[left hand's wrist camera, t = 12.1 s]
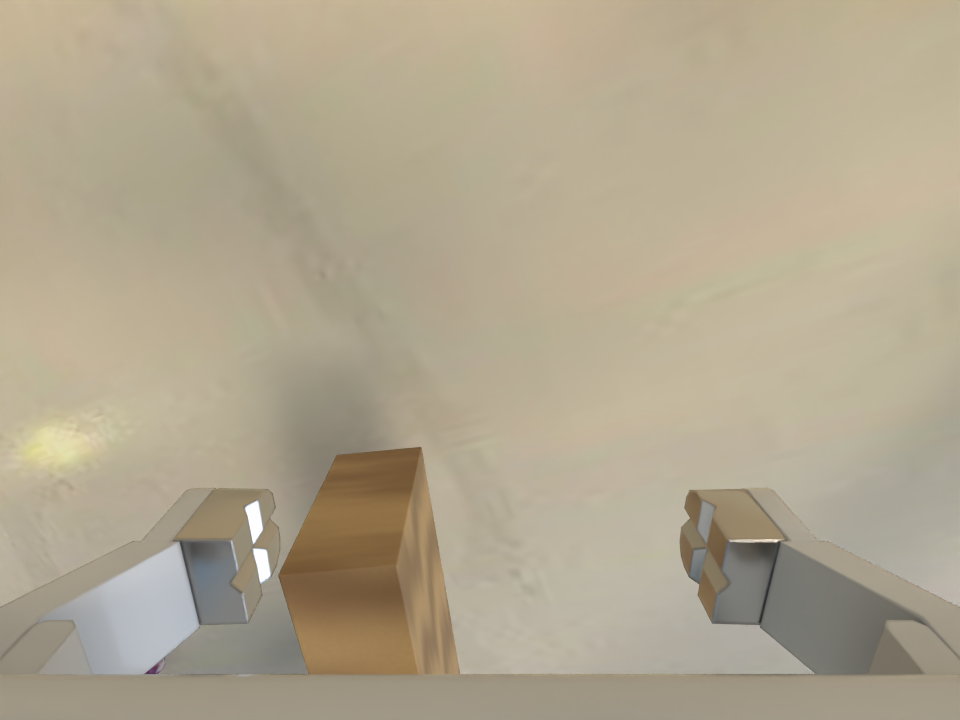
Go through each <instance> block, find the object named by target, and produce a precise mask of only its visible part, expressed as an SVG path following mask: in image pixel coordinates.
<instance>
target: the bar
mask: <svg viewBox="0 0 960 720" xmlns="http://www.w3.org/2000/svg"><path fill="white" fill-rule="evenodd" d="M279 579H280V582H281V586H282V589H283V592H284V595H285V599H286V602H287V605H288V609H289V612H290V615H291V618H292V622H293V625H294V628H295V631H296V635H297V638H298V641H299V644H300V648H301V651H302V654H303V657H304V661H305V664H306V667H307V671H308V674H460V670H459V664H458V659H457V653H456V647H455V641H454V635H453V629H452V623H451V618H450V612H449V606H448V600H447V594H446V588H445V582H444V577H443V571H442V565H441V559H440V553H439V547H438V541H437V536H436V530H435V524H434V518H433V512H432V506H431V500H430V495H429V489H428V483H427V477H426V471H425V465H424V459H423V454H422V448H421V447H415V448H405V449H395V450H384V451H374V452H364V453H353V454H343V455H337V456H336V458H335V460H334V462H333V464H332V466H331V468H330V470H329V472H328V474H327V476H326V478H325V480H324V483H323V485H322V487H321V489H320V491H319V493H318V495H317V497H316V499H315V501H314V503H313V505H312V507H311V509H310V511H309V513H308V515H307V517H306V520H305V522H304V524H303V526H302V528H301V530H300V532H299V534H298V536H297V538H296V540H295V542H294V544H293V546H292V548H291V550H290V552H289V554H288V557H287V559H286V561H285V563H284V565H283V567H282V569H281V571H280V573H279Z"/></svg>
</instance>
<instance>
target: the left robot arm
mask: <svg viewBox="0 0 960 720" xmlns="http://www.w3.org/2000/svg"><path fill="white" fill-rule="evenodd" d="M274 510H275V503H274V498H273V493H272V492H271V491H269V490H268V489H234V488H218V489H216V488H192V489H189V490H186V491H185V492H184V494H183V495H182V496H181V497H180V498H179V499H178V500H177V501H176V503H175V504H174V505H173V506H172V507H171V508H170V509H169V510H168V512H167V513H166V514H165V515H164V516H163V517H162V518H161V519H160V521H159V522H158V523H157V524H156V525H155V526H154V527H153V528H152V530H151V531H150V532H149V533H148V534H147V535H146V536H145V537H144V539H143V540H142V541H132V542H130V543H128V544H126V545H124V546H122V547H120V548H118V549H116V550H114V551H112V552H110V553H108V554H106V555H104V556H102V557H100V558H98V559H96V560H94V561H92V562H90V563H88V564H86V565H84V566H82V567H80V568H78V569H76V570H74V571H72V572H70V573H68V574H66V575H64V576H62V577H60V578H58V579H56V580H54V581H52V582H50V583H48V584H46V585H44V586H42V587H40V588H38V589H36V590H34V591H32V592H30V593H28V594H26V595H24V596H22V597H20V598H18V599H16V600H14V601H12V602H10V603H8V604H6V605H4V606H2V607H0V720H960V607H958V606H956V605H954V604H952V603H950V602H948V601H946V600H944V599H942V598H940V597H938V596H936V595H934V594H932V593H930V592H928V591H926V590H924V589H922V588H920V587H918V586H916V585H914V584H912V583H910V582H908V581H906V580H904V579H902V578H900V577H898V576H896V575H894V574H892V573H890V572H888V571H886V570H884V569H882V568H880V567H878V566H876V565H874V564H872V563H870V562H868V561H866V560H864V559H862V558H860V557H858V556H856V555H854V554H852V553H850V552H848V551H846V550H844V549H842V548H840V547H838V546H836V545H834V544H832V543H830V542H828V541H818V540H817V539H816V537H815V536H814V535H813V534H812V533H811V532H810V531H809V530H808V528H807V527H806V526H805V525H804V524H803V523H802V522H801V521H800V519H799V518H798V517H797V516H796V515H795V514H794V513H793V512H792V510H791V509H790V508H789V507H788V506H787V505H786V504H785V503H784V501H783V500H782V499H781V498H780V497H779V496H778V495H777V494H776V492H775V491H773V490H771V489H769V488H744V489H716V490H689V493H688V495H687V497H686V502H685V510H686V512H687V513H688V515H689V517H690V519H689V520H688V521H687V522H686V523H685V524H684V525H683V526H682V527H681V535H680V552H681V558H682V562H683V565H684V568H685V570H686V572H687V574H688V576H689V577H690V578H691V579H692V580H694V581H695V582H697V583H698V584H700V585H699V591H698V596H699V598H700V600H701V602H702V604H703V606H704V608H705V610H706V612H707V614H708V616H709V618H710V620H711V622H712V624H745V625H760V628H762V629H763V630H764V631H765V632H766V633H768V634H769V635H770V636H771V637H772V638H774V639H775V640H776V641H777V642H778V643H779V644H781V645H782V646H783V647H784V648H785V649H787V650H788V651H789V652H790V653H791V654H793V655H794V656H795V657H796V658H797V659H799V660H800V661H801V662H802V663H803V664H805V665H806V666H807V667H808V668H809V669H811V670H812V671H813V672H814V673H815V674H145V673H146V672H147V671H148V670H150V669H151V668H152V667H153V666H154V665H156V664H157V663H158V662H159V661H160V660H162V659H163V658H164V657H165V656H166V655H168V654H169V653H170V652H171V651H172V650H174V649H175V648H176V647H177V646H178V645H180V644H181V643H182V642H183V641H184V640H186V639H187V638H188V637H189V636H190V635H191V634H193V633H194V632H195V631H196V630H197V629H199V628H200V625H214V624H248V622H249V620H250V618H251V616H252V614H253V612H254V610H255V608H256V606H257V604H258V602H259V600H260V598H261V596H262V591H261V585H260V584H262V583H263V582H265V581H266V580H268V579H269V578H270V577H271V576H272V574H273V572H274V570H275V568H276V566H277V561H278V557H279V552H280V533H279V527H278V526H277V525H276V524H275V523H274V522H273V521H272V520H271V519H270V517H271V515H272V513H273V512H274Z"/></svg>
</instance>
